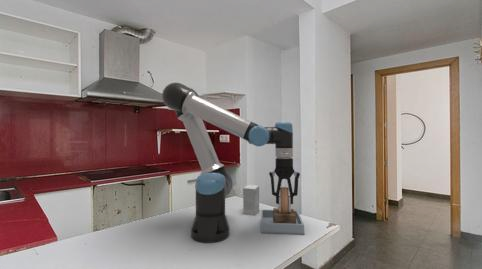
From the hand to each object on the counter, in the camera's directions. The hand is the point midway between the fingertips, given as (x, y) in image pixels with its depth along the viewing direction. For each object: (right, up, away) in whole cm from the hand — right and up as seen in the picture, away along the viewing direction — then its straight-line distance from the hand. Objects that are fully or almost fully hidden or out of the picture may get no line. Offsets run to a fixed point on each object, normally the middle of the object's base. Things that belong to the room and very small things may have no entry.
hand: (284, 211), depth 104 cm
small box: (-14, -6, +17) cm, 23 cm away
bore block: (0, -6, 0) cm, 6 cm away
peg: (0, -4, 0) cm, 4 cm away
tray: (-2, -6, 0) cm, 6 cm away
